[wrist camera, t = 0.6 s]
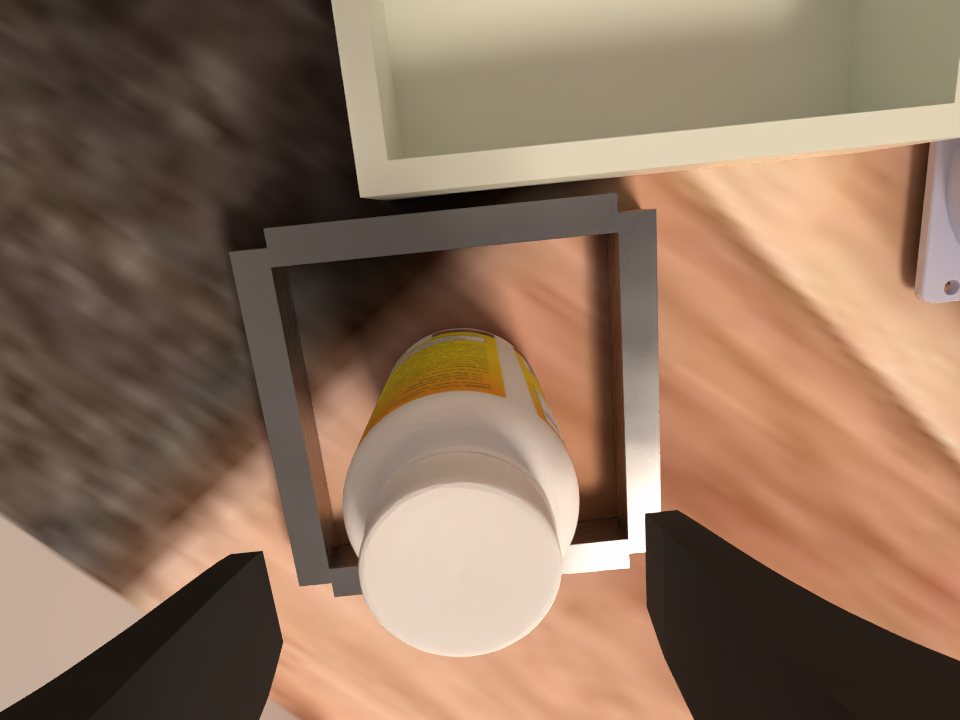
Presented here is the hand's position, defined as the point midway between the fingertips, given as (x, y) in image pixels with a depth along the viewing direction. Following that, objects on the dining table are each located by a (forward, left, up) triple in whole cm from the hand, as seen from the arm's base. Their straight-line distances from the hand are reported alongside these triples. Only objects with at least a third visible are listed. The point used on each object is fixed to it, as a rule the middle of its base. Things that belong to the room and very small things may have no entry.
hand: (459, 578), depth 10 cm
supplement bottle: (0, 0, -11) cm, 11 cm away
